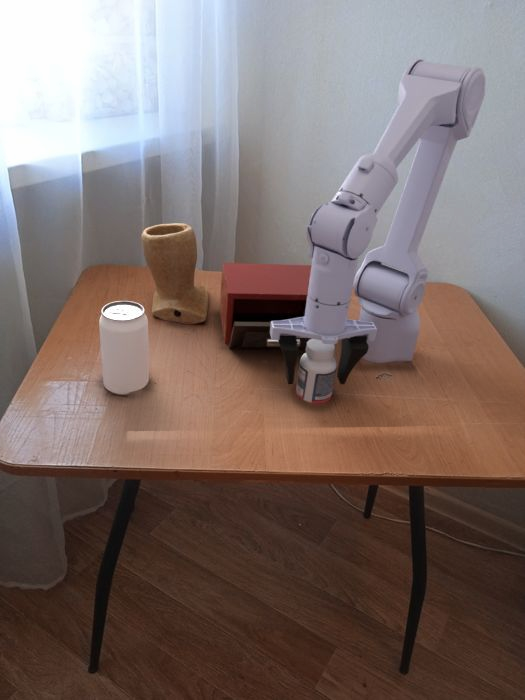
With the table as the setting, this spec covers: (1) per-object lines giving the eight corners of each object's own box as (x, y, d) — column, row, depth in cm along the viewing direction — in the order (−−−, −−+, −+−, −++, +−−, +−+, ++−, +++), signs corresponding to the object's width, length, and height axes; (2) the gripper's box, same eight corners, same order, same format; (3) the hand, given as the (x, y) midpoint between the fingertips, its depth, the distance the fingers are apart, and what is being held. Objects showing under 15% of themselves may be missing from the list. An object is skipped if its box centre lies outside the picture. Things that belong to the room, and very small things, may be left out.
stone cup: (147, 288, 109) (146, 212, 101) (209, 291, 109) (212, 217, 102) (136, 326, 96) (132, 242, 88) (206, 330, 97) (209, 247, 89)
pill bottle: (335, 393, 84) (345, 342, 79) (324, 411, 80) (333, 359, 75) (302, 382, 86) (310, 331, 81) (289, 399, 81) (297, 347, 77)
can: (139, 400, 78) (136, 325, 72) (95, 391, 79) (89, 316, 73) (155, 375, 84) (154, 303, 77) (114, 367, 84) (110, 296, 78)
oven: (305, 315, 105) (312, 265, 99) (319, 348, 95) (327, 295, 89) (219, 313, 102) (222, 262, 97) (224, 348, 92) (227, 293, 87)
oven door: (316, 345, 94) (330, 322, 86) (318, 365, 92) (332, 344, 84) (228, 345, 91) (234, 321, 83) (229, 365, 90) (234, 343, 82)
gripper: (280, 309, 70) (269, 397, 77) (391, 310, 72) (371, 396, 79) (271, 284, 75) (263, 368, 83) (374, 287, 78) (357, 368, 85)
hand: (315, 380), depth 81 cm, fingers open, 7 cm apart
